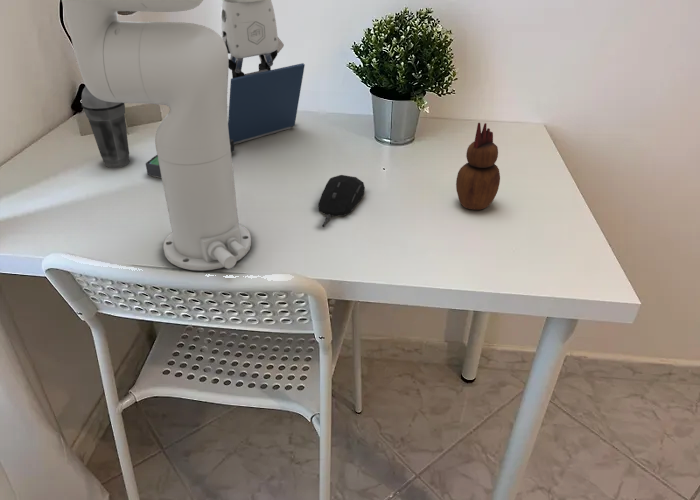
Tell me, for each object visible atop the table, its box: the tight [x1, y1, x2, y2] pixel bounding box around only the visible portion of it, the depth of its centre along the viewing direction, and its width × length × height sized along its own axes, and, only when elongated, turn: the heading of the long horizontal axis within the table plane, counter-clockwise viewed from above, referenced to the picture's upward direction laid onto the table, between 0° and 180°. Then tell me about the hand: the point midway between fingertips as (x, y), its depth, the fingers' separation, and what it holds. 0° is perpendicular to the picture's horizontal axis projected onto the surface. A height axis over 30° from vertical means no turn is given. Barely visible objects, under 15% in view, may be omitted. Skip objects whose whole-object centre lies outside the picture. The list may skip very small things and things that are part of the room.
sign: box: [227, 62, 306, 145], centre depth 116 cm, size 15×16×5 cm
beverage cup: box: [81, 86, 131, 169], centre depth 104 cm, size 7×7×20 cm
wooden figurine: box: [455, 122, 501, 211], centre depth 93 cm, size 7×6×15 cm
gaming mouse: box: [317, 174, 366, 228], centre depth 96 cm, size 6×15×4 cm, turn 162°
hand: (252, 87), depth 116 cm, fingers closed on sign, 5 cm apart
